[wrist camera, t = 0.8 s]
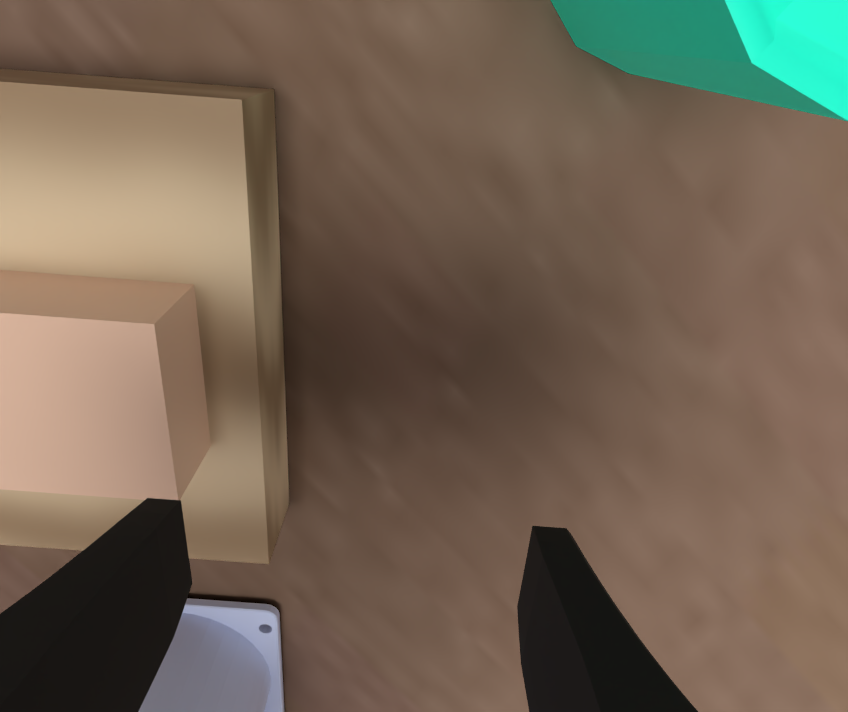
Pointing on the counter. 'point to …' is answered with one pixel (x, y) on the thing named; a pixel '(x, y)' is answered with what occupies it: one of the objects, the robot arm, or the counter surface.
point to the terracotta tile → (100, 386)
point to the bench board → (161, 273)
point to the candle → (725, 46)
